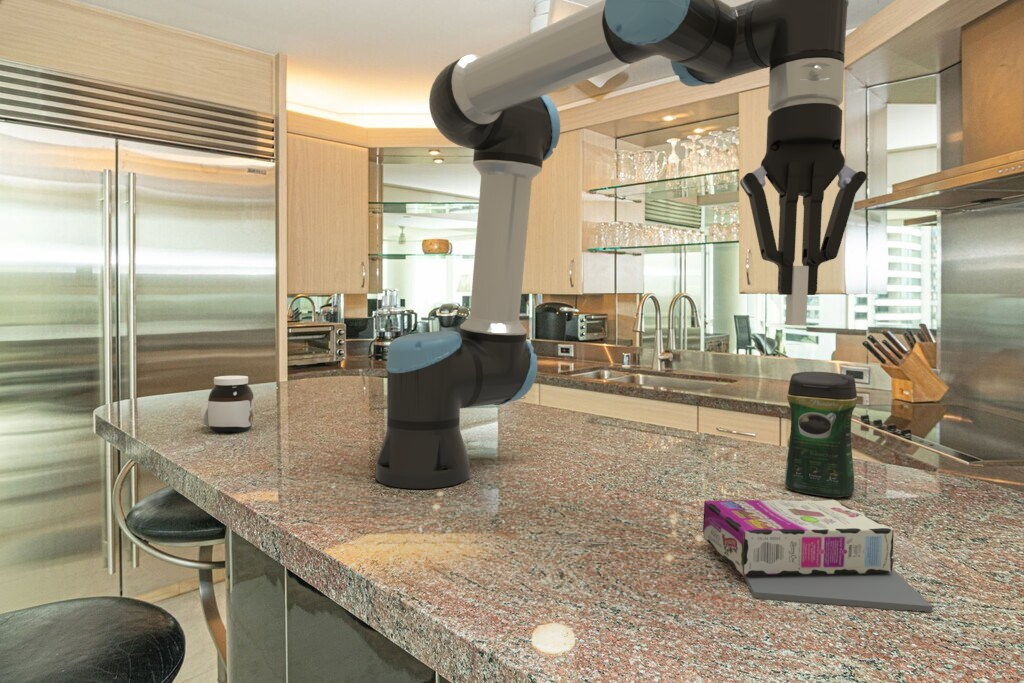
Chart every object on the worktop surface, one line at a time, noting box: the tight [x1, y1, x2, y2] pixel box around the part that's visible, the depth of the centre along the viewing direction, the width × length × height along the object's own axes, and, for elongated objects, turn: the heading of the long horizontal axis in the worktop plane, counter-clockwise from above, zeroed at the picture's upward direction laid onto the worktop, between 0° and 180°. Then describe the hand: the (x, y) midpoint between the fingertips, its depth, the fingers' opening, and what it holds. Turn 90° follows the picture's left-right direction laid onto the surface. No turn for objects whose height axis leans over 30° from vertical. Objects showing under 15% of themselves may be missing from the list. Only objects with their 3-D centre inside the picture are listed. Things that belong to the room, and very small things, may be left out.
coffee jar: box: [784, 371, 858, 498], centre depth 100 cm, size 10×8×19 cm
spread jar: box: [199, 375, 255, 435], centre depth 141 cm, size 12×11×12 cm
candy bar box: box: [702, 499, 895, 576], centre depth 72 cm, size 11×5×16 cm
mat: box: [742, 568, 934, 613], centre depth 70 cm, size 16×16×1 cm
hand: (795, 324), depth 73 cm, fingers closed
